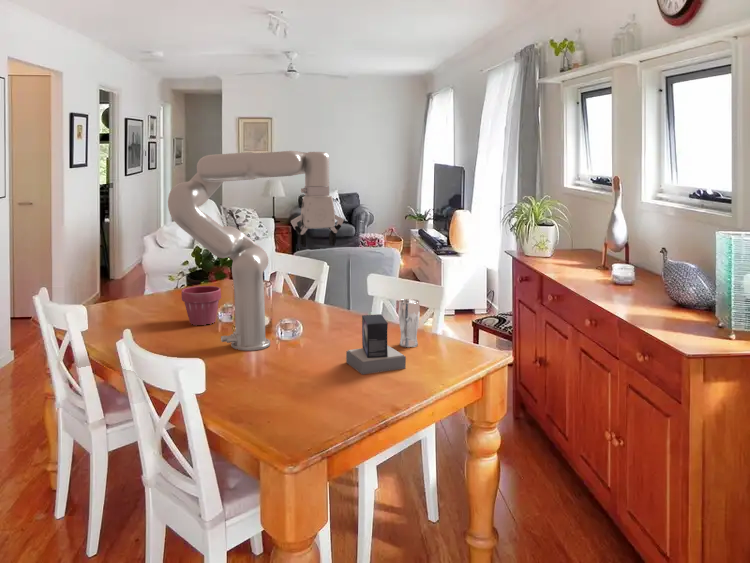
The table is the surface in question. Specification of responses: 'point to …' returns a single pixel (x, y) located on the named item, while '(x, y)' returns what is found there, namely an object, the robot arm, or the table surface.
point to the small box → (374, 336)
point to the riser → (375, 361)
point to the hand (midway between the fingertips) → (317, 246)
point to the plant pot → (201, 303)
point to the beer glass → (409, 322)
